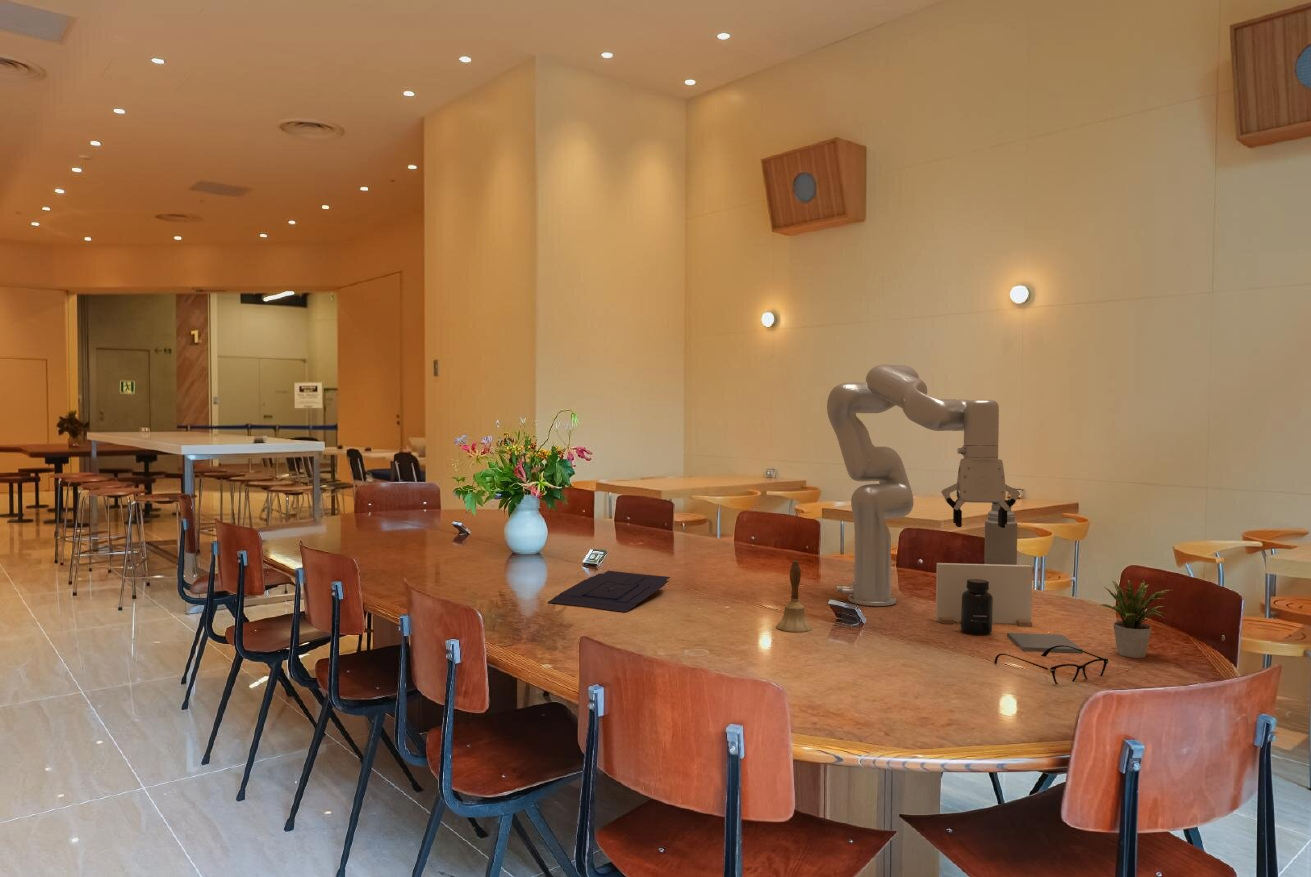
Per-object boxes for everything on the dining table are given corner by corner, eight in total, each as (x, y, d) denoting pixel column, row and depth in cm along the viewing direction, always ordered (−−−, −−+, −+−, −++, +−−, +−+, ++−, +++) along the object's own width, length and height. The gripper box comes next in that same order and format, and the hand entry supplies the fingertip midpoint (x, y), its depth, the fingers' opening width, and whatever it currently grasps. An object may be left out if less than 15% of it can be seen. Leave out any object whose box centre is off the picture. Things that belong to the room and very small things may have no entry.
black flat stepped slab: (677, 587, 241) (676, 574, 241) (626, 622, 215) (626, 608, 214) (603, 579, 252) (602, 567, 252) (546, 612, 226) (545, 598, 225)
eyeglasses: (1050, 688, 158) (1051, 667, 158) (986, 665, 173) (987, 646, 173) (1113, 678, 165) (1113, 657, 165) (1046, 656, 179) (1046, 637, 179)
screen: (939, 623, 205) (939, 565, 205) (934, 617, 211) (934, 561, 211) (1034, 626, 203) (1035, 568, 202) (1026, 620, 208) (1027, 563, 208)
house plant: (1172, 670, 168) (1174, 588, 168) (1094, 659, 176) (1095, 581, 175) (1173, 653, 181) (1175, 576, 180) (1100, 643, 188) (1101, 570, 187)
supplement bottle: (977, 637, 193) (978, 584, 192) (954, 630, 199) (955, 579, 198) (998, 633, 196) (999, 582, 196) (975, 627, 202) (976, 576, 202)
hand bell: (815, 626, 203) (816, 559, 202) (806, 634, 195) (807, 565, 195) (782, 622, 206) (782, 556, 206) (771, 630, 199) (772, 562, 198)
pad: (1023, 650, 182) (1023, 647, 182) (1007, 636, 194) (1007, 632, 194) (1082, 653, 180) (1082, 649, 180) (1062, 638, 192) (1062, 634, 192)
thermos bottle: (979, 601, 229) (981, 498, 228) (1010, 602, 228) (1012, 498, 227) (988, 608, 221) (990, 501, 220) (1020, 609, 220) (1022, 501, 219)
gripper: (946, 453, 194) (945, 528, 194) (1024, 454, 192) (1023, 529, 192) (938, 452, 201) (937, 524, 202) (1014, 452, 199) (1013, 525, 200)
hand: (979, 526), depth 197 cm, fingers open, 9 cm apart
